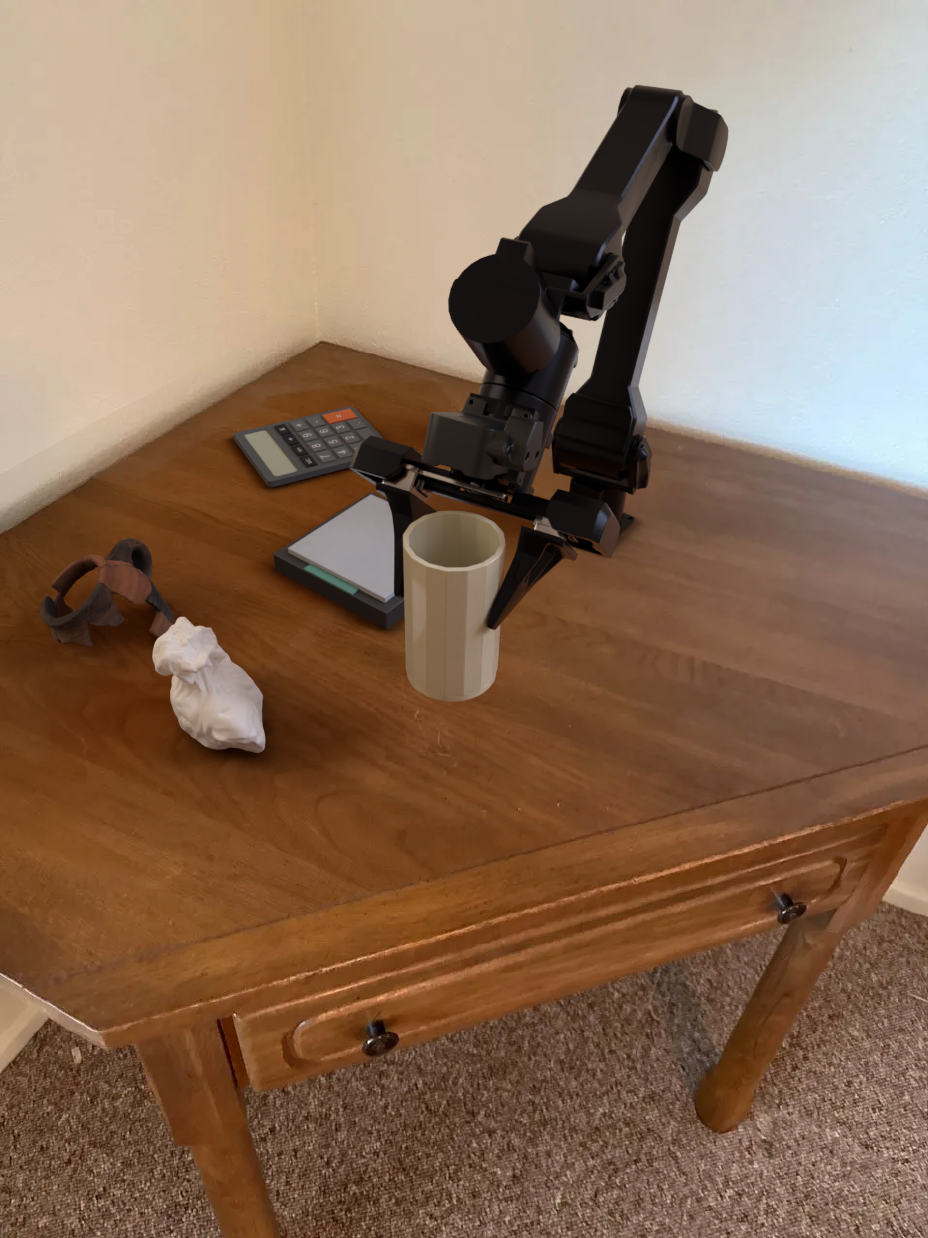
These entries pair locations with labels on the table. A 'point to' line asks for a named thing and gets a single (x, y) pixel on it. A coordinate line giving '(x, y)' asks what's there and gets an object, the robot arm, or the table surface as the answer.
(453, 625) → the cup
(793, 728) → the table surface
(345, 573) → the scale
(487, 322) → the robot arm
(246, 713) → the white tied bag
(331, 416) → the calculator
